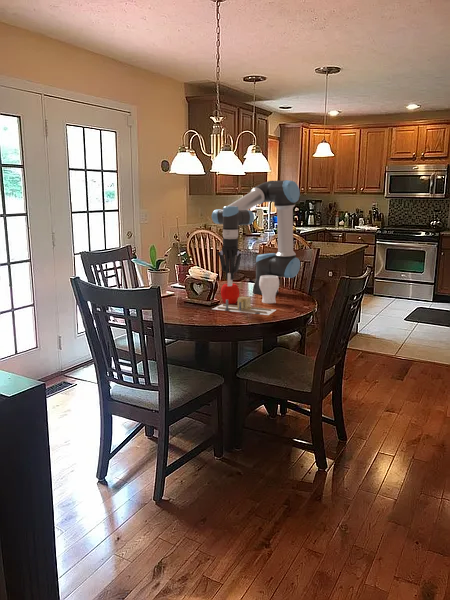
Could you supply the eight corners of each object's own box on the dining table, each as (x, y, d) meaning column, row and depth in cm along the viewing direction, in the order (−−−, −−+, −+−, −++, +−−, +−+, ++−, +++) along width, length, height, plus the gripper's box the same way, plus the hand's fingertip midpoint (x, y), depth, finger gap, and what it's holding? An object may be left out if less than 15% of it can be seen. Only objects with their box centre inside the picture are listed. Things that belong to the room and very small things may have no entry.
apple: (234, 302, 273) (234, 280, 271) (242, 306, 264) (242, 283, 262) (217, 304, 269) (217, 281, 266) (225, 308, 260) (225, 284, 258)
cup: (277, 307, 262) (278, 278, 259) (257, 306, 264) (257, 277, 261) (279, 302, 272) (280, 275, 269) (260, 302, 274) (260, 274, 271)
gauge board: (221, 307, 262) (221, 294, 261) (276, 312, 250) (277, 299, 249) (211, 312, 251) (211, 298, 250) (268, 318, 239) (268, 304, 238)
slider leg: (241, 307, 254) (241, 296, 252) (250, 308, 252) (250, 297, 250) (235, 311, 247) (235, 299, 245) (244, 312, 245) (244, 300, 243)
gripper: (215, 238, 246) (214, 286, 250) (239, 239, 240) (239, 288, 245) (221, 237, 252) (221, 283, 257) (245, 238, 247) (244, 285, 252)
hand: (229, 285), depth 251 cm, fingers closed
